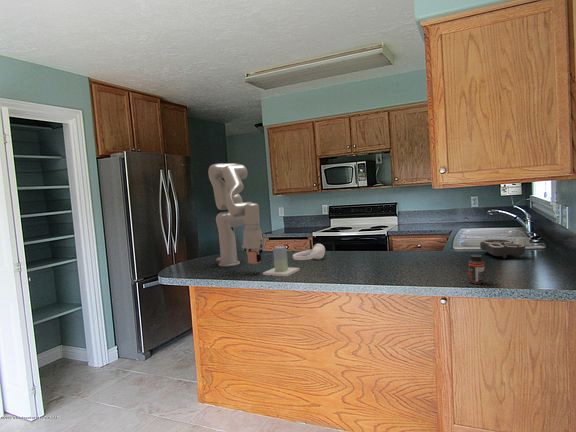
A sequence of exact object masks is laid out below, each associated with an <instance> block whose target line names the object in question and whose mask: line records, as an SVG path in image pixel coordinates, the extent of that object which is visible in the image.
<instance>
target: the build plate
mask: <svg viewBox="0 0 576 432" xmlns="http://www.w3.org/2000/svg"><path fill="white" fill-rule="evenodd" d="M273 262H274V263H273V264H274V265H273V266H274V267H273V268H271V269H269V270H266V271H264V272H262V275H263V276H271V275H272V277H273V276H276V277H289V276H291V275H292V274H295V273H297V272H299V271H301V270H300V267H289V266H288V257H287V258H286V259H283V260H274V259H273Z"/></svg>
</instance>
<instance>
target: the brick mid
mask: <svg viewBox="0 0 576 432" xmlns="http://www.w3.org/2000/svg"><path fill="white" fill-rule="evenodd" d="M287 251H288V250H287V246H275V247H272V252H273V253H272V255H273V256H272V257H273V261H274V260H283V259H286V258H287V259H288V253H287Z"/></svg>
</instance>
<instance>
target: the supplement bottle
mask: <svg viewBox="0 0 576 432" xmlns="http://www.w3.org/2000/svg"><path fill="white" fill-rule="evenodd" d="M482 258H483V257H482V255H481V254H471V255H470V260H468V281H469V283H470V284H472V283H474V284H473V285H482V284H481V283H483V284H485V281H486V275H485V274H486V273H485V272H486V271H485V261H484V260H483V259H482Z"/></svg>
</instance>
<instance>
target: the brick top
mask: <svg viewBox="0 0 576 432" xmlns="http://www.w3.org/2000/svg"><path fill="white" fill-rule="evenodd" d="M246 255H248V258H247V264H251V265H252V264H253V265H257V264H259V263H261V262H262V260H261V261H260V262H257V251H256V249H251V251H248V252H247V254H246Z"/></svg>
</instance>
